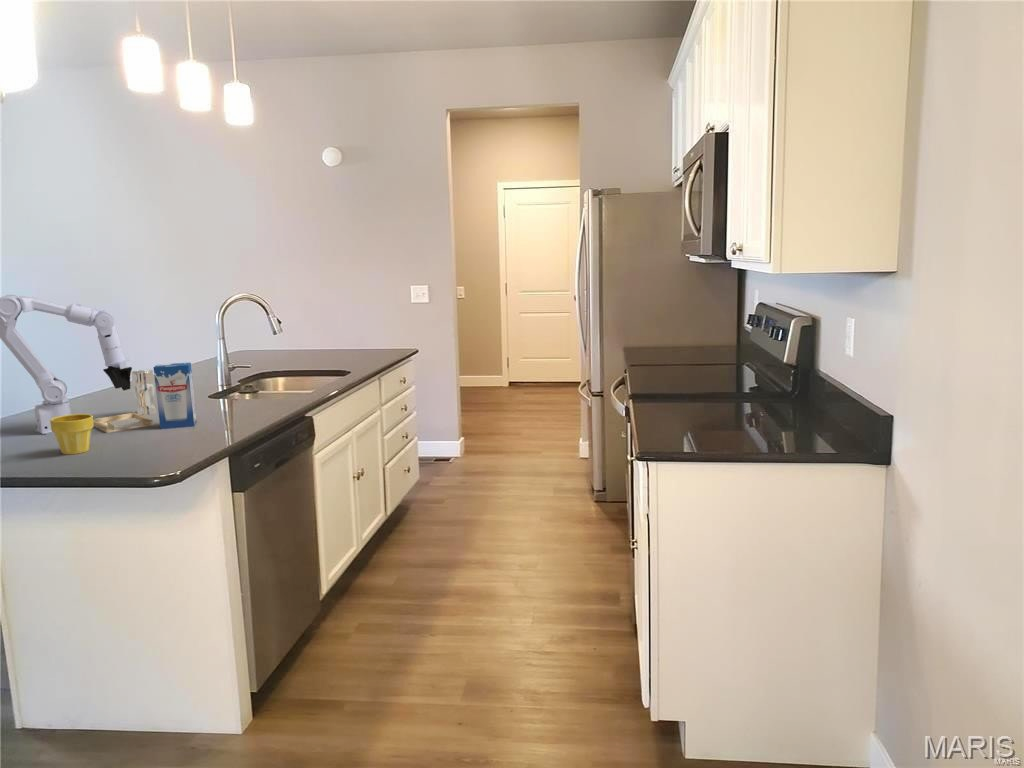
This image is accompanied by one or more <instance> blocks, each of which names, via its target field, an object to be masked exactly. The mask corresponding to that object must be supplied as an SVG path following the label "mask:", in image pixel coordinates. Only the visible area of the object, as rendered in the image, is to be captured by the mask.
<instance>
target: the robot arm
mask: <svg viewBox="0 0 1024 768" xmlns="http://www.w3.org/2000/svg"><path fill="white" fill-rule="evenodd" d="M32 311H33V312H34V311H37V312H42V313H46V314H51V315H56V316H62V317H64V318H65V319H66V321H67V322H69V323H74V324H77V325H83V326H85V327H86V326H87V327H92V326H94V327H95V328H96V331H97V339H98V342H99V345H100V349H101V352H102V356H103V359H104V366H105V367H107V368H103V369H102V371H103V372H104V373H105V374H106V375H107V377H108V378H109V380H110V381H111V383H112V385H113V387H114V388H115V390H116V389H120V388H121V389H122V391H127V390H128V391H129V390H131V376H132V373H131V372H132V370H133V368H132V366H127V365H128V364H127V362H128V361H130V359H129V358H125V355H124V352H123V348H122V344H121V341H120V337H119V334H118V332H117V327H116V326H115V319H114V316H113V314H112V313H111V312H110V311H109V312H108V311H107V310H105V309H104V310H103V309H102V310H100V308H98V307H95V308H92V307H88V306H84V305H83V304H82V303H79V302H77V303H72V304H70V305H68V306H65V305H62V304H59V303H54V302H50V301H47V300H43V299H39V298H35V297H30V296H23V295H22V296H21V295H19V296H18V295H15V294H7V295H4V296H1V297H0V340H1V341H2V342H3V343H4V345H5V346H6V347H7V348H8V349H9V351H10V352H11V353H12V354H13V356H15V358H16V360H17V361H18V362H19V364H20V365H22V366H23V368H24V369H25V370H26V372H28V374H29V375H30V376H31V377H32V379H33V380H34V382H35V384H36V385H37V387H38V389H40V393H41V397H42V399H43V400H42V403H41V404H37V405H35V406H34V414H35V423H36V428H37V429H36V431H37V432H38V433H40V434H42V435H46V434H47V433H53V432H52V430H51V423H50V420H51V419H52V418H55V417H59V416H64V415H72V411H71V403H70V399H69V398H67V396H66V394H67V391H68V387H67V385H66V383H65V381H63V380H62V379H59V378H57V377H56V375H55V374H54V373H53V372H51V371H50V370H49V369H48V368H47V366H46V365H45V364H44V362H43V361H42V360H41V359H40V358H39V357H38V355H37V354H36V353H35V352H34V350H33V349H32V348H31V347H30V345H29V344H28V343H27V342H26V340H25V339H24V338H23V337H22V336H21V334H20V333H19V332H18V331H17V329H16V324H17V322H18V321H17V320H18V317H19V316H20V315H21V313H28V312H32Z"/></svg>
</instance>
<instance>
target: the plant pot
mask: <svg viewBox="0 0 1024 768" xmlns="http://www.w3.org/2000/svg"><path fill="white" fill-rule="evenodd" d="M93 419H94V416H93V415H92V414H89V413H75V414H74V413H73V414H72V413H71V415H64V416H59V417H55V418H52V419H51V420H50V423H51V430H52V432H51V433H53V434H54V435H55V437H56V440H57V443H58V446H59V450H60V451H61V454H63V455H77V454H83V453H86V452H88V451H89V450H90V444H91V443H90V442H91V434H92V429H93V428H95V427H94V424H93Z"/></svg>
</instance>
